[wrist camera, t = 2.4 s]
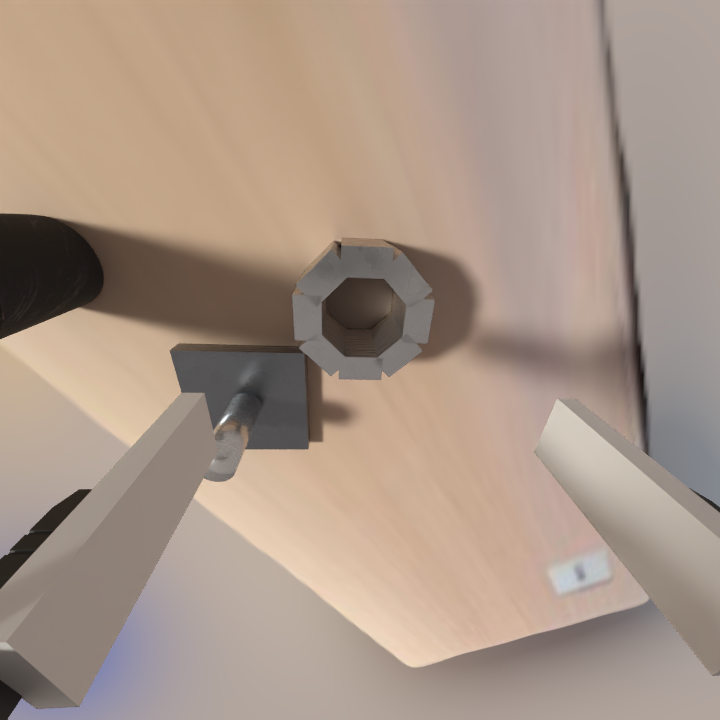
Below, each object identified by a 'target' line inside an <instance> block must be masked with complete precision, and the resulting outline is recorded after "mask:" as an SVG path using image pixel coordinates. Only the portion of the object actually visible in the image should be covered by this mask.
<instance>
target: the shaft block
mask: <svg viewBox="0 0 720 720" xmlns="http://www.w3.org/2000/svg"><path fill="white" fill-rule="evenodd" d="M170 353H171V356H172V360H173V364H174V367H175V371H176V374H177V378H178V381H179V385H180V388H181V392H182V393H205V398H206V402H207V406H208V411H209V415H210V419H211V424H212V428H213V432H214V436H215V441H216V445H217V449H218V452H217V454H216V456H215V457H214V459H213V461H212V463H211V465H210V467H209V469H208V470H207V472H206V474H205V476H204V478H205V479H207V480H210V481H215V482H222V481H226V480H229V479H230V478H232V477H233V476H234V474H235V472H236V469H237V467H238V465H239V462H240V460H241V457H242V455H243V453H244V450H245V449H308V448H309V442H310V433H309V408H308V384H307V360H306V354H305V353H304V352H303V351H301V350H300V349H299V347H296V346H254V345H212V344H177V345H176V346H175V347H174V348H172V349H171V350H170Z"/></svg>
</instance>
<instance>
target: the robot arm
mask: <svg viewBox="0 0 720 720" xmlns="http://www.w3.org/2000/svg"><path fill="white" fill-rule="evenodd" d="M217 452H218V449H217V445H216V441H215V436H214V432H213V428H212V424H211V419H210V415H209V411H208V406H207V402H206V398H205V393H181V394H180V395H179V396H178V398H177V399H176V400H175V401H174V402H173V403H172V404H171V405H170V406H169V407H168V408H167V409H166V410H165V412H164V413H163V414H162V415H161V416H160V417H159V418H158V419H157V420H156V421H155V422H154V423H153V425H152V426H151V427H150V428H149V429H148V430H147V431H146V432H145V433H144V434H143V435H142V436H141V438H140V439H139V440H138V441H137V442H136V443H135V444H134V445H133V446H132V447H131V448H130V449H129V451H128V452H127V453H126V454H125V455H124V456H123V457H122V458H121V459H120V460H119V461H118V462H117V463H116V465H115V466H114V467H113V468H112V469H111V470H110V471H109V472H108V473H107V474H106V475H105V476H104V478H103V479H102V480H101V481H100V482H99V483H98V484H97V485H96V486H95V487H94V488H93V489H90V490H89V489H81V490H78V491H76V492H75V493H74V494H72V495H70V496H69V497H68V498H66V499H65V500H63V501H62V502H60V503H59V504H57V505H56V506H54V507H53V508H52V509H51V510H50V511H49V512H48V513H47V514H46V515H45V516H44V517H43V518H42V519H41V520H40V521H39V522H38V523H37V524H36V525H35V526H34V527H33V528H32V529H31V530H30V533H29V534H28V535H24V536H23V537H22V538H21V539H20V541H18V543H16V544H15V546H13V547H12V549H10V553H9V554H8V555H4V556H3V558H1V559H0V720H8V717H9V716H10V714H11V713H12V711H13V710H14V708H15V707H16V705H17V704H18V702H19V701H20V699H21V698H23V699H24V700H25V701H26V702H28V703H29V704H31V705H32V706H33V707H35V708H36V709H44V708H63V707H79V706H80V704H81V703H82V701H83V698H84V697H85V695H86V693H87V692H88V690H89V688H90V686H91V684H92V682H93V680H94V679H95V677H96V675H97V673H98V671H99V669H100V667H101V666H102V664H103V662H104V660H105V658H106V657H107V655H108V653H109V651H110V649H111V647H112V645H113V644H114V642H115V640H116V638H117V636H118V634H119V633H120V631H121V629H122V627H123V625H124V623H125V622H126V620H127V618H128V616H129V614H130V612H131V610H132V609H133V607H134V605H135V603H136V601H137V599H138V598H139V596H140V594H141V592H142V590H143V588H144V586H145V585H146V583H147V581H148V579H149V577H150V575H151V574H152V572H153V570H154V568H155V566H156V564H157V563H158V561H159V559H160V557H161V555H162V553H163V551H164V549H165V548H166V546H167V544H168V542H169V540H170V538H171V537H172V535H173V533H174V531H175V529H176V528H177V525H178V524H179V522H180V520H181V518H182V516H183V515H184V513H185V511H186V509H187V507H188V505H189V503H190V502H191V500H192V498H193V496H194V494H195V492H196V491H197V489H198V487H199V485H200V483H201V481H202V480H203V478H204V476H205V474H206V472H207V470H208V469H209V467H210V465H211V463H212V461H213V459H214V457H215V456H216V454H217ZM534 453H535V454H536V455H537V456H538V458H539V459H540V460H541V462H542V463H543V464H544V465H545V467H546V468H547V469H548V470H549V472H550V473H551V474H552V475H553V477H554V478H555V479H556V480H557V482H558V483H559V484H560V485H561V487H562V488H563V489H564V490H565V492H566V493H567V494H568V495H569V497H570V498H571V499H572V500H573V502H574V503H575V504H576V505H577V507H578V508H579V509H580V510H581V512H582V513H583V514H584V515H585V517H586V518H587V519H588V520H589V522H590V523H591V524H592V526H593V527H594V528H595V529H596V531H597V532H598V533H599V534H600V536H601V537H602V538H603V539H604V541H605V542H606V543H607V544H608V546H609V547H610V548H611V549H612V551H613V552H614V553H615V554H616V556H617V557H618V558H619V559H620V561H621V562H622V563H623V564H624V566H625V567H626V568H627V569H628V571H629V572H630V573H631V574H632V576H633V577H634V578H635V579H636V581H637V582H638V583H639V584H640V586H641V587H642V588H643V590H644V591H645V592H646V593H647V595H648V596H649V597H650V598H651V600H652V601H653V602H654V603H655V604H656V606H657V607H658V608H659V610H660V611H661V612H662V613H663V615H664V616H665V617H666V618H667V620H668V621H669V622H670V623H671V625H672V626H673V627H674V628H675V630H676V631H677V632H678V633H679V635H680V636H681V637H682V638H683V640H684V641H685V642H686V643H687V645H688V646H689V647H690V648H691V650H692V651H693V652H694V654H695V655H696V656H697V657H698V659H699V660H700V661H701V662H702V664H703V665H704V666H705V667H706V669H707V670H708V671H709V672H710V674H711V675H712V676H716V675H720V507H718V506H717V505H716V504H714V503H713V502H712V501H710V500H709V499H707V498H705V497H703V496H702V495H700V494H698V493H697V492H695V491H693V490H691V489H690V488H688V487H687V486H685V485H684V484H683V483H682V482H680V481H679V480H678V479H676V478H675V477H674V476H673V475H672V474H670V473H669V472H667V470H665V469H664V468H663V467H661V466H660V465H659V464H658V463H656V462H655V461H654V460H653V459H651V458H650V457H649V456H648V455H646V454H645V453H644V452H643V451H641V450H640V449H639V448H638V447H636V446H635V445H634V444H633V443H631V442H630V441H629V440H628V439H626V438H625V437H624V436H622V435H621V434H620V433H619V432H617V431H616V430H615V429H614V428H612V427H611V426H610V425H609V424H607V423H606V422H605V421H604V420H602V419H601V418H600V417H599V416H597V415H596V414H595V413H593V412H592V411H591V410H590V409H588V408H587V407H586V406H585V405H583V404H582V403H581V402H580V401H578V400H577V399H557V401H556V403H555V405H554V407H553V410H552V412H551V414H550V417H549V419H548V421H547V424H546V426H545V428H544V431H543V433H542V435H541V438H540V440H539V442H538V445H537V447H536V449H535V451H534Z"/></svg>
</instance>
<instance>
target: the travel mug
mask: <svg viewBox="0 0 720 720" xmlns="http://www.w3.org/2000/svg"><path fill="white" fill-rule="evenodd" d="M102 286H103V271H102V267H101V264H100V262H99V259H98V258H97V256H96V254H95V252H94V251H93V249H92V248H91V247H90V245H89V244H88V243H87V242H86V241H85V240H84V239H83V238H82V237H81V236H80V235H79V234H78V233H76V232H75V231H74V230H72V229H71V228H69V227H68V226H66V225H65V224H63V223H61V222H59V221H56V220H54V219H51V218H47V217H44V216H38V215H28V214H0V339H2V338H4V337H7V336H9V335H12V334H14V333H17V332H19V331H22V330H24V329H27V328H29V327H32V326H34V325H36V324H39V323H41V322H44V321H46V320H49V319H51V318H54V317H56V316H59V315H61V314H63V313H66V312H68V311H71V310H73V309H76V308H78V307H80V306H83V305H85V304H87V303H89V302H91V301H92V300H94V299H95V298H96V297H97V296H98V295H99V293H100V292H101V289H102Z"/></svg>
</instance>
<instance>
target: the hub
mask: <svg viewBox="0 0 720 720" xmlns="http://www.w3.org/2000/svg"><path fill="white" fill-rule="evenodd" d="M347 277H349V278H374V279H385V281H386V282H387V283H388V284H389V285H390V286H391V288H392V289H393V295H392V305H391V313H389V314H388V315H387V316H386V317H385V318H384V319H382V320H381V321H380V322H379V323H378V324H376V325H375V326H374V327H373V328H372V329H345V328H344V327H343V326H342V325H341V324H340V323H339V322H338V321H337V320H336V319H335V318H334V317H333V316H332V315H331V314H330V313H329V312H328V311H327V310H326V297H327V296H328V295H330V294H331V293H332V292H333V291H334V290H335V289H336V288H337V287H338V286H339V285H340V284H341V283H342V282H343V281H344V280H345V279H346V278H347ZM295 286H296V289H295V291H294V292H293V294H292V303H293V320H294V336H295V340H301V343H300V346H299V349H300V350H301V351H303V352H304V353H305V354H306V355H307V356H308V357H309V358H311V359H312V360H313V361H314V362H315V363H316V364H317V365H319V366H320V367H321V368H322V369H323V370H324V371H325V372H327V373H328V374H329V375H330V376H332V375H333V374H334V373H335V372H337V371H338V370H339V379H356V380H381V375H382V371H383V372H384V373H385V374H386V375H387V376H388V377H390V376H391V375H393V374H394V373H395V372H396V371H398V370H399V369H400V368H402V367H403V366H404V365H406V364H407V363H408V362H409V361H411V360H412V359H413V358H415V357H416V356H417V355H418V354H420V353H421V352H422V351H423V350H422V348H421V347H420V345H419V343H424V344H428V338H429V332H430V327H431V321H432V315H433V309H434V304H435V299H434V298H433V297H432V296H431V295H430V293H431V292H432V291H433V290H432V289H431V287H430V286H429V285H428V284H427V282H426V281H425V280H424V279H423V277H422V276H421V275H420V273H419V272H418V271H417V270H416V268H415V267H414V266H413V265H412V263H411V262H410V261H409V259H408V258H407V257H406V256H405V254H404V253H403V252H402V251H400V250H399V249H397V248H396V247H394V246H393V245H392V244H388V243H387V242H385V241H384V240H380V239H360V238H342V242H341V248H340V247H339V246H338V245H337V243H336V242H335V241H333V242H332V243H331V244H330V245H329V246H328V247H327V248H326V249H325V250H324V251H323V252H322V253H321V255H320V256H319V257H318V258H317V259H316V260H315V261H314V262H313V263H312V264H311V265H310V266H309V267H308V268H307V269H306V270H305V271H304V273H303V275H302V276H301V278H300V279H299V281H298V282H297V284H296V285H295Z"/></svg>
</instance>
